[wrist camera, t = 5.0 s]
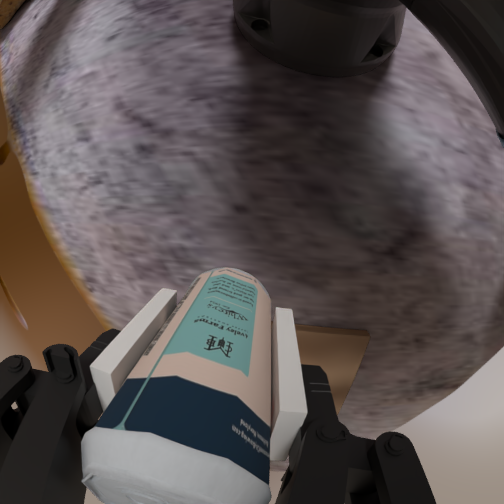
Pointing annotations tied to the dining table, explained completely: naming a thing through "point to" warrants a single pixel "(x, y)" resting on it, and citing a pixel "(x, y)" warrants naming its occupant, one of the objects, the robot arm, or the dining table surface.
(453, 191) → the dining table surface
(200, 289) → the lidded canister
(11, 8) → the bread
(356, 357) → the board
